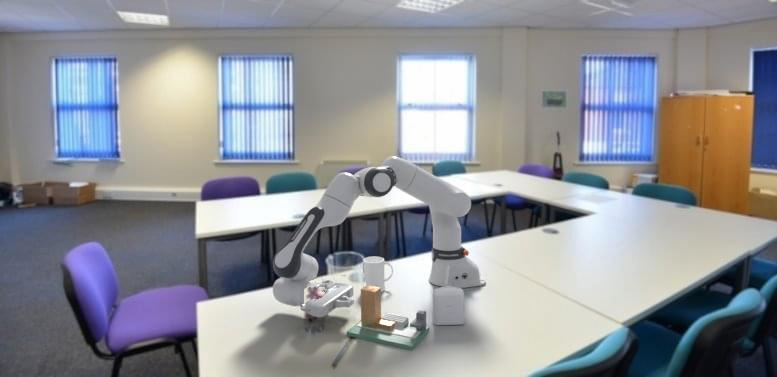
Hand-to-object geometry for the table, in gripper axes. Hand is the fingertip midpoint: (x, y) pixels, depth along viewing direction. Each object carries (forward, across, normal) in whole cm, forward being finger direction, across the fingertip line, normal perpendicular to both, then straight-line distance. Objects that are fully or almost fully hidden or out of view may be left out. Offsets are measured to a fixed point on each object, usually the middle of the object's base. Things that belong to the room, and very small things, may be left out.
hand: (351, 303), depth 156 cm
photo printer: (+28, +14, +8) cm, 32 cm away
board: (+13, 0, +7) cm, 15 cm away
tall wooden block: (+10, 0, +6) cm, 11 cm away
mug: (-6, +31, +8) cm, 33 cm away
